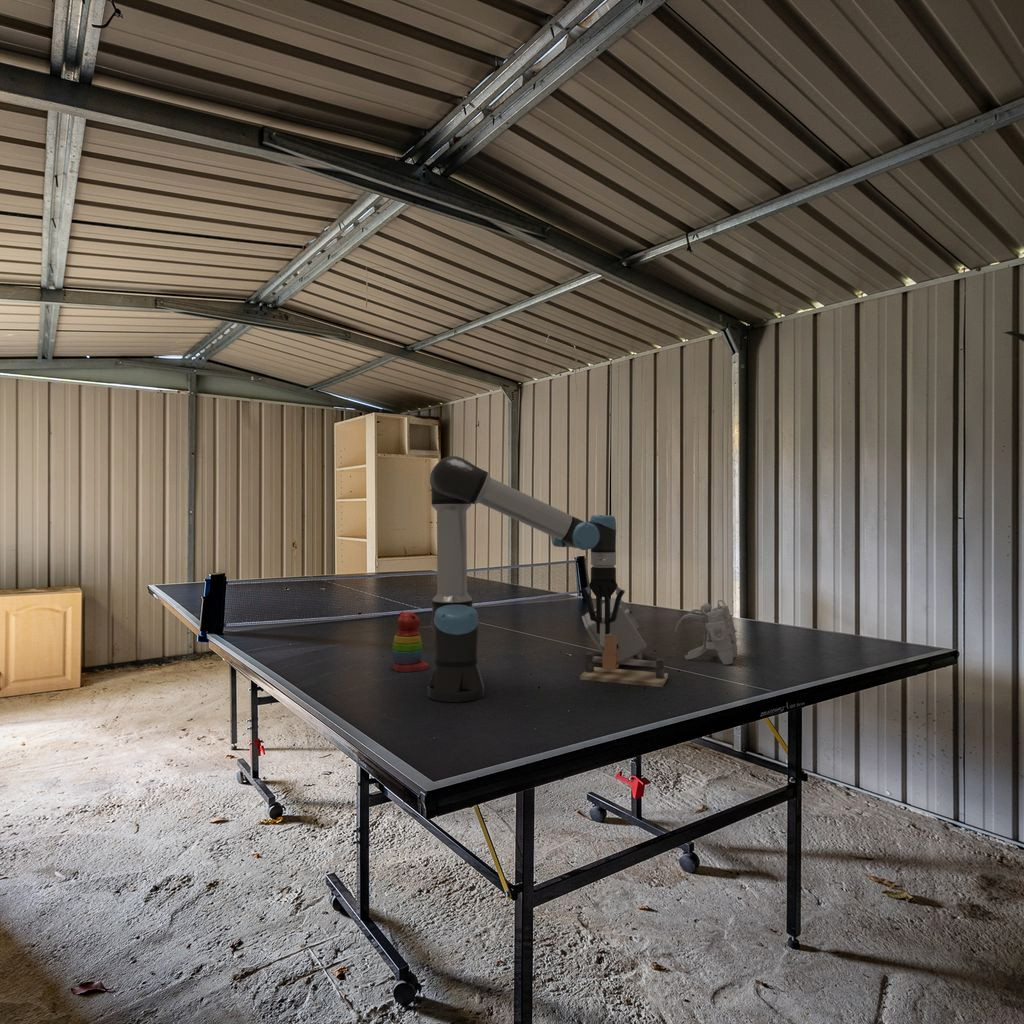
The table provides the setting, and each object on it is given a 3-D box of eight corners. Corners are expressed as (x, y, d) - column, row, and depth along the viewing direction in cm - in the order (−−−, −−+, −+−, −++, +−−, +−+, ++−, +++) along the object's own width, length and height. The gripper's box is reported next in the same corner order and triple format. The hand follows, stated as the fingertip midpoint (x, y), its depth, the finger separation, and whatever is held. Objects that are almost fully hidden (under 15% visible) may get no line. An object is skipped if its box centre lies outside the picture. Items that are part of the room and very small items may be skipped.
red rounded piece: (431, 668, 207) (432, 612, 207) (406, 674, 199) (406, 615, 199) (410, 663, 214) (410, 608, 214) (384, 668, 207) (385, 611, 207)
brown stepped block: (602, 668, 195) (602, 637, 195) (605, 665, 199) (605, 635, 199) (615, 669, 194) (615, 638, 194) (618, 666, 197) (618, 636, 198)
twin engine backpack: (692, 661, 232) (678, 605, 234) (746, 653, 224) (731, 596, 226) (681, 672, 216) (667, 612, 218) (739, 664, 208) (723, 602, 210)
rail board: (579, 679, 193) (579, 657, 193) (589, 670, 205) (589, 649, 205) (662, 687, 185) (662, 664, 185) (667, 677, 196) (667, 655, 196)
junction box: (661, 657, 204) (622, 597, 204) (621, 683, 204) (582, 624, 205) (649, 642, 228) (614, 589, 228) (613, 666, 228) (578, 612, 229)
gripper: (579, 566, 196) (579, 645, 196) (622, 567, 191) (622, 648, 191) (585, 564, 203) (585, 641, 203) (627, 566, 198) (627, 643, 198)
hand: (603, 644), depth 197 cm, fingers closed
